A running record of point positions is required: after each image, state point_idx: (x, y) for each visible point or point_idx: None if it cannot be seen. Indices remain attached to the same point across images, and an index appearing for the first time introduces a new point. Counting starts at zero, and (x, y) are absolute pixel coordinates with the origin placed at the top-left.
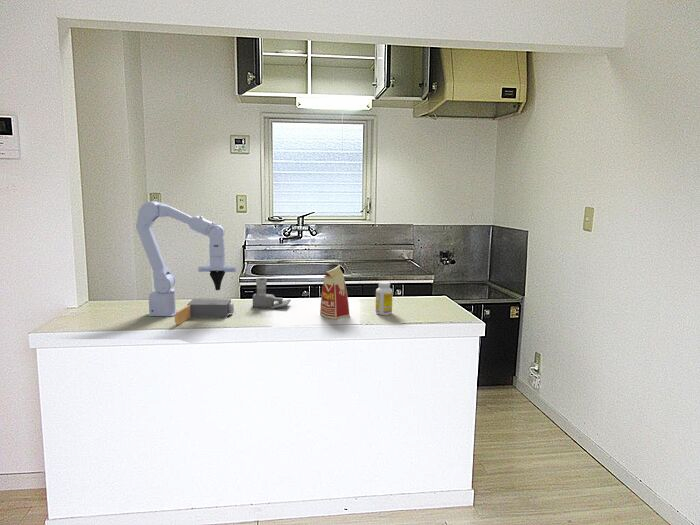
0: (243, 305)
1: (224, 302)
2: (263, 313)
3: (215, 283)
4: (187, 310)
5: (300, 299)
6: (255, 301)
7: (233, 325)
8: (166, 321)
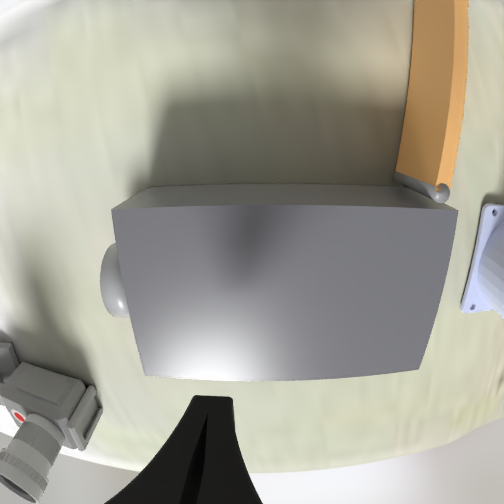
0: (147, 413)
1: (153, 286)
2: (8, 280)
3: (219, 454)
4: (431, 129)
5: (13, 434)
6: (65, 395)
7: (78, 25)
8: (493, 105)
